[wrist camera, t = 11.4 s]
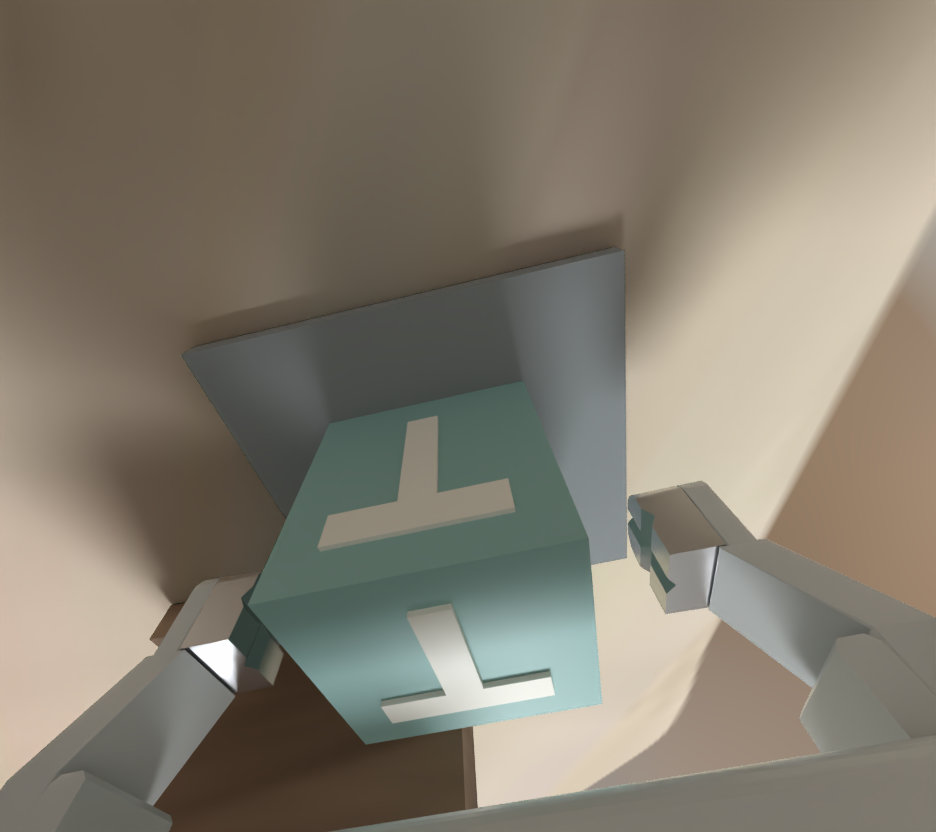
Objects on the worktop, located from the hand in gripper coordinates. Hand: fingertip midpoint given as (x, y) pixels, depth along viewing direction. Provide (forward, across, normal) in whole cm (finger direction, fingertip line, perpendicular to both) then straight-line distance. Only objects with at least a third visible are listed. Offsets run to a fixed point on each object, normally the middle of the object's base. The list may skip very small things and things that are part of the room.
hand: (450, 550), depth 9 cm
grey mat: (+3, 0, 0) cm, 3 cm away
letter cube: (+3, 0, 0) cm, 3 cm away
